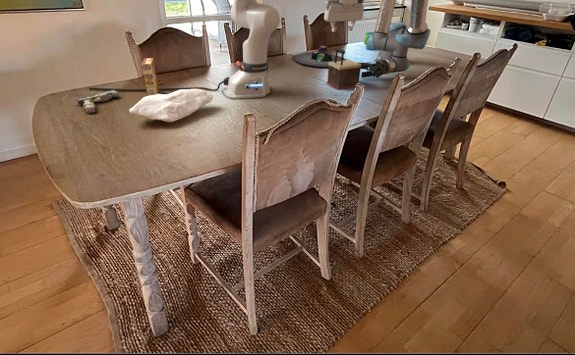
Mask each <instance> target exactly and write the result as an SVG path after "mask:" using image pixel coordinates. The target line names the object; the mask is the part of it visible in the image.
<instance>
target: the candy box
mask: <svg viewBox="0 0 575 355" xmlns="http://www.w3.org/2000/svg"><path fill="white" fill-rule="evenodd" d="M141 66H142V73H143V78H144V82H145V87H146V88H145V89H147V91H146V92H147V96H150V95H156V94H159V91H160V90H158V89H159V84H158V79H157V73H156V66H155V62H154V58H153V57H151V58H150V57H149V58H146V57H145V58H143V60H142V63H141Z"/></svg>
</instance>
